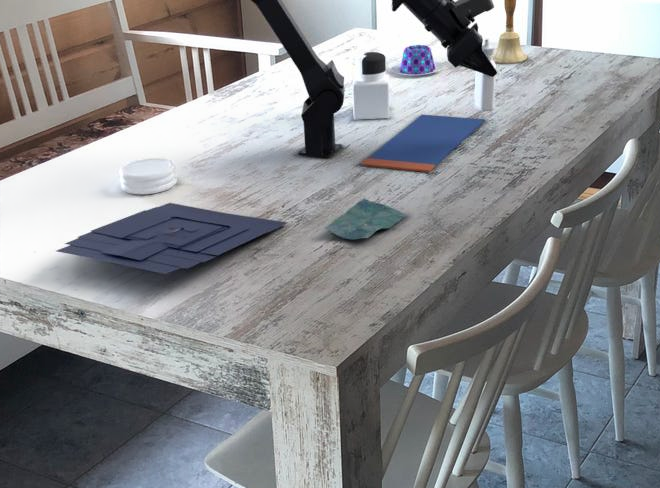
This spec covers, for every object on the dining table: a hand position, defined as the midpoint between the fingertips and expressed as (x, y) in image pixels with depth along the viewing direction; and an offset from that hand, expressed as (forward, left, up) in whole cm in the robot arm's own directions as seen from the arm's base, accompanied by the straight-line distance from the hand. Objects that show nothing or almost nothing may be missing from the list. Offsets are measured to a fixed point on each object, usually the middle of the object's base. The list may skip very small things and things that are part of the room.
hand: (493, 70), depth 185 cm
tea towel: (-3, +12, -13) cm, 18 cm away
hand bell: (+58, +15, -13) cm, 62 cm away
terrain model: (-44, +6, -13) cm, 46 cm away
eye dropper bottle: (-1, +1, -7) cm, 7 cm away
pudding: (+44, +32, -13) cm, 56 cm away
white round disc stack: (-38, +51, -13) cm, 65 cm away
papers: (-61, +31, -13) cm, 69 cm away
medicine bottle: (+11, +29, -13) cm, 34 cm away
